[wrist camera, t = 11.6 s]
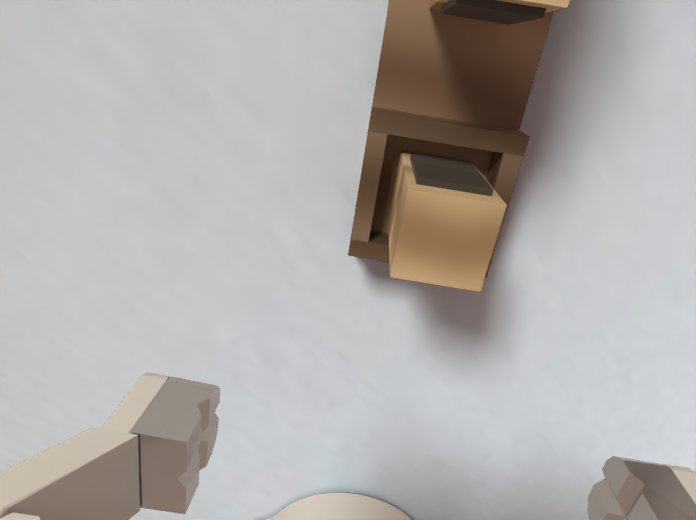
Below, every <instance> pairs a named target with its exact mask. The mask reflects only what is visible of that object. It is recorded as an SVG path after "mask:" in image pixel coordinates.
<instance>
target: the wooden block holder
mask: <svg viewBox="0 0 696 520" xmlns="http://www.w3.org/2000/svg"><path fill="white" fill-rule="evenodd" d="M569 1H570V0H389V6H388V12H387V18H386V25H385V31H384V37H383V43H382V49H381V55H380V62H379V68H378V74H377V80H376V86H375V93H374V99H373V105H372V111H371V117H370V123H369V129H368V135H367V142H366V148H365V154H364V160H363V166H362V173H361V179H360V185H359V191H358V197H357V204H356V210H355V216H354V222H353V228H352V234H351V241H350V247H349V253H348V255H349V256H355V257H361V258H368V259H374V260H380V261H386V262H389V234H388V214H389V209H390V204H391V199H392V194H393V189H394V184H395V178H396V173H397V168H398V163H399V158H400V153H401V150H402V151H408V152H414V153H421V154H427V155H433V156H439V157H445V158H451V159H458V160H464V161H470V162H472V163H473V164H474V165H475V166H476V168H477V169H478V170H479V171H480V173H481V174H482V175H483V176H484V178H485V179H486V180H487V181H488V182H489V184H490V185H491V186H492V187H493V189H494V190H495V191H496V192H497V194H498V195H499V196H500V197H501V199H502V200H503V201H504V202H505V203H506V205H507V206H506V209H505V212H504V216H503V219H502V222H501V226H500V229H499V232H498V236H497V239H496V242H495V245H494V249H493V252H492V255H491V259H490V262H489V265H488V269H487V272H486V275H485V278H486V277H487V274H488V271H489V268H490V264H491V261H492V258H493V254H494V251H495V248H496V245H497V241H498V238H499V235H500V231H501V228H502V225H503V222H504V218H505V215H506V212H507V208H508V205H509V202H510V199H511V195H512V192H513V189H514V185H515V182H516V179H517V176H518V172H519V169H520V166H521V162H522V159H523V156H524V153H525V149H526V146H527V143H528V139H529V136H528V135H526V134H524V133H522V132H521V131H519V128H520V124H521V121H522V117H523V114H524V111H525V107H526V104H527V100H528V97H529V94H530V90H531V87H532V83H533V80H534V77H535V73H536V70H537V66H538V63H539V60H540V56H541V53H542V49H543V46H544V42H545V39H546V36H547V32H548V29H549V25H550V22H551V19H552V15H553V12H554V11H556V10H560V9H564V8H568V4H569Z"/></svg>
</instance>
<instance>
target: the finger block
mask: <svg viewBox="0 0 696 520" xmlns="http://www.w3.org/2000/svg"><path fill="white" fill-rule="evenodd" d="M506 206H507V205H506V203H505V202H504V201H503V200H502V199H501V197H500V196H499V195H498V194H497V192H496V191H495V190H494V189H493V187H492V186H491V185H490V184H489V182H488V181H487V180H486V179H485V178H484V176H483V175H482V174H481V173H480V171H479V170H478V169H477V168H476V166H475V165H474V164H473V163H472V162H470V161H464V160H458V159H451V158H445V157H439V156H433V155H427V154H421V153H414V152H408V151H402V150H401V153H400V158H399V163H398V168H397V173H396V178H395V184H394V189H393V194H392V199H391V204H390V209H389V214H388V234H389V263H390V277H392V278H398V279H405V280H411V281H417V282H423V283H429V284H435V285H442V286H448V287H454V288H460V289H466V290H472V291H478V292H481V288H482V285H483V282H484V278H485V275H486V272H487V269H488V265H489V262H490V259H491V255H492V252H493V249H494V245H495V242H496V239H497V236H498V232H499V229H500V226H501V222H502V219H503V216H504V212H505V209H506Z"/></svg>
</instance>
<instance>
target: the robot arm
mask: <svg viewBox="0 0 696 520" xmlns="http://www.w3.org/2000/svg"><path fill="white" fill-rule="evenodd" d="M219 402H220V388H219V387H218V386H216V385H211V384H206V383H201V382H196V381H191V380H186V379H181V378H176V377H169V376H164V375H159V374H154V373H149V372H147V373H146V374H144V375H142V376H141V377H140V378H139V379H138V381H137V382H136V383H135V385H134V386H133V387H132V389H131V390H130V391H129V392H128V394H127V395H126V396H125V398H124V399H123V400H122V401H121V403H120V404H119V405H118V407H117V408H116V409H115V411H114V412H113V413H112V414H111V416H110V417H109V418H108V420H107V421H106V422H105V424H104V425H103V426H102V427H101V428H97V427H92V428H90V429H88V430H86V431H84V432H82V433H80V434H78V435H76V436H74V437H72V438H70V439H67V440H65V441H63V442H61V443H59V444H57V445H55V446H53V447H51V448H49V449H47V450H45V451H43V452H41V453H39V454H37V455H34V456H32V457H30V458H28V459H26V460H24V461H22V462H20V463H18V464H16V465H14V466H12V467H10V468H8V469H6V470H4V471H2V472H0V520H129V519H130V518H131V517H132V516H134V515H135V514H136V513H137V512H139V511H140V508H147V509H154V510H161V511H167V512H174V513H181V514H186V511H187V509H188V507H189V504H190V502H191V500H192V498H193V495H194V493H195V491H196V489H197V486H198V484H199V470H201V469H202V468H204V467H205V466H207V463H208V461H209V459H210V456H211V454H212V451H213V447H214V444H215V441H216V436H217V430H218V420H219V418H218V417H217V415H216V414H215V410H216V408H217V406H218V404H219ZM602 471H603V473H604V476H605V479H603V480H602V481H600V482H598V483H596V484H595V485H594V486H593V488H592V490H591V492H590V494H589V497H588V515H589V520H696V473H695V472H693V471H692V470H691V469H689V468H685V467H679V466H672V465H666V464H658V463H652V462H646V461H640V460H634V459H628V458H622V457H616V456H613V457H611V458H610V459H608V460H607V461H606V463H605V465H604V467H603V469H602ZM264 520H412V519H411V518H410V517H409V516H407V515H406V514H405V513H403V512H402V511H401V510H399V509H398V508H396V507H394V506H392V505H390V504H388V503H386V502H383V501H381V500H378V499H375V498H372V497H368V496H364V495H358V494H351V493H326V494H319V495H313V496H309V497H306V498H303V499H300V500H298V501H296V502H293V503H292V504H290V505H288V506H287V507H285V508H284V509H282V510H281V511H280V512H278V513H277V514H276V515H274V516H273V517H271V518H269V519H264Z"/></svg>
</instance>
